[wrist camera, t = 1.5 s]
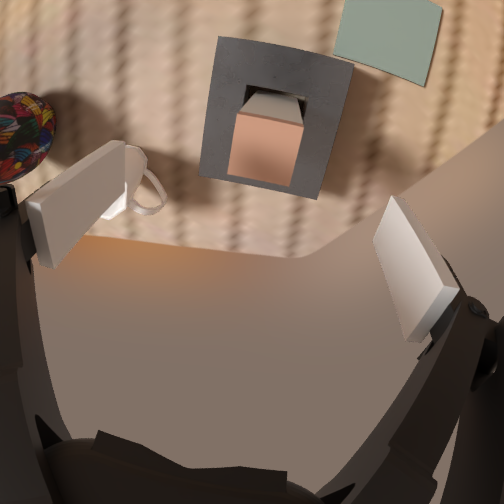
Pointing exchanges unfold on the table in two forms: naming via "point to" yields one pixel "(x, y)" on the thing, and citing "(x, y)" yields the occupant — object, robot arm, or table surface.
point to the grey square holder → (283, 79)
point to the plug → (266, 138)
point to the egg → (24, 134)
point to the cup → (135, 185)
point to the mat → (390, 35)
